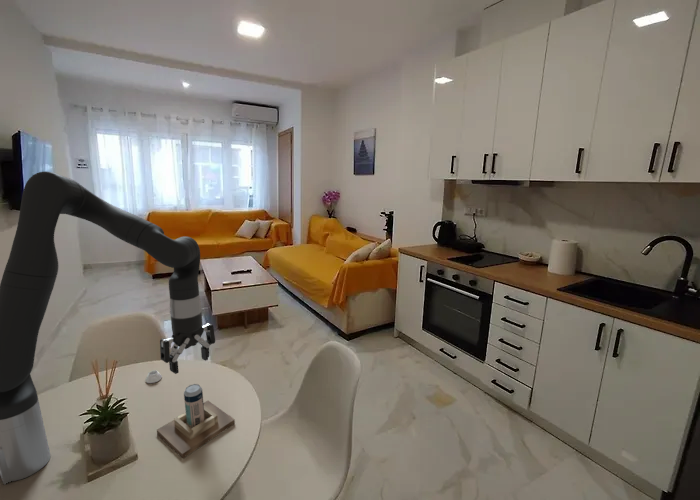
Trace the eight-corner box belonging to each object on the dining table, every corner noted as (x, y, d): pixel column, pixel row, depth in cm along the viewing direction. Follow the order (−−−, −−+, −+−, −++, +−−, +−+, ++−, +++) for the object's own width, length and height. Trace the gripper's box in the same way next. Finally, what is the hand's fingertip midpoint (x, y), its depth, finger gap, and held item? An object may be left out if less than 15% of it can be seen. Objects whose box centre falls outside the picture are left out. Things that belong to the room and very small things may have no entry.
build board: (182, 458, 89) (181, 446, 88) (157, 434, 97) (155, 422, 96) (234, 423, 102) (234, 412, 101) (208, 404, 110) (207, 393, 109)
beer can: (208, 419, 101) (205, 383, 99) (199, 431, 97) (196, 394, 94) (193, 417, 102) (189, 382, 99) (183, 429, 97) (179, 392, 94)
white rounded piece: (156, 374, 125) (142, 381, 121) (155, 367, 125) (141, 373, 120) (164, 378, 123) (150, 385, 119) (163, 371, 122) (149, 378, 118)
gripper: (165, 324, 83) (171, 382, 87) (218, 307, 94) (221, 359, 98) (151, 316, 87) (157, 372, 91) (203, 300, 99) (206, 351, 102)
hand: (190, 365), depth 94 cm, fingers open, 8 cm apart
